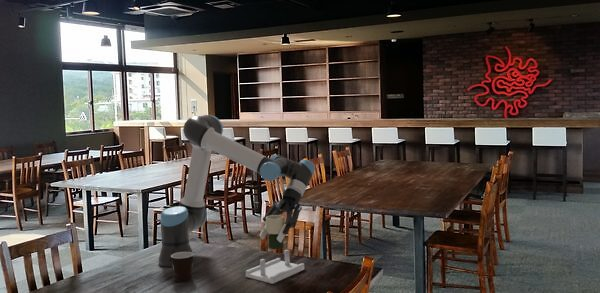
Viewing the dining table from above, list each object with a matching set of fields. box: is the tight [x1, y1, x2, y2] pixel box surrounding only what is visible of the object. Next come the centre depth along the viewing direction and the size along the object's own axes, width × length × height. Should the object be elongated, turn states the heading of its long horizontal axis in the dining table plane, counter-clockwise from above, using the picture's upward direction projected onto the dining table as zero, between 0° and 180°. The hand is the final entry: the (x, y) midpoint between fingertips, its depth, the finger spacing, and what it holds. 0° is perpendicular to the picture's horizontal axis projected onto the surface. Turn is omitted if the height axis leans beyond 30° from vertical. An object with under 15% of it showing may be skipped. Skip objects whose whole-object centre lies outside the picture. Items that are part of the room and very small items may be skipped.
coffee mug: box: [171, 252, 194, 284], centre depth 210 cm, size 12×9×10 cm
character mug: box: [260, 214, 286, 250], centre depth 212 cm, size 11×7×13 cm, turn 90°
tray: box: [245, 249, 305, 284], centre depth 214 cm, size 14×20×8 cm
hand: (270, 239), depth 210 cm, fingers closed on character mug, 8 cm apart
